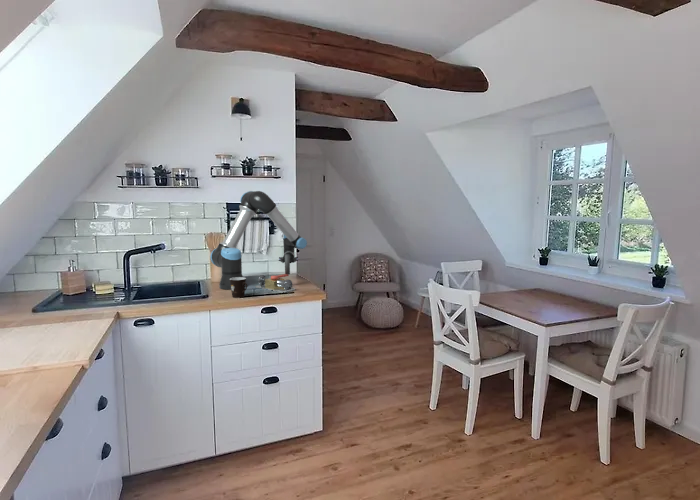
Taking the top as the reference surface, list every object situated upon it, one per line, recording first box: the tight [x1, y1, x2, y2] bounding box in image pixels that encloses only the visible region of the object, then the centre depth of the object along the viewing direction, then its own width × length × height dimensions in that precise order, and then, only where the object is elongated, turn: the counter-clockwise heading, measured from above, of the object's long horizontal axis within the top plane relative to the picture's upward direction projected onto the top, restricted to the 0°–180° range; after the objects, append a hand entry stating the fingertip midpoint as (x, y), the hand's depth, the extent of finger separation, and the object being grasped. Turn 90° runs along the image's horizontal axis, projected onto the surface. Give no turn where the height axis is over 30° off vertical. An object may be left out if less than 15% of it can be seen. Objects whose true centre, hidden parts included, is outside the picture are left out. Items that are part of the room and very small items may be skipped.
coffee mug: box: [230, 276, 248, 299], centre depth 222 cm, size 12×9×10 cm
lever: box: [270, 254, 291, 279], centre depth 247 cm, size 14×4×13 cm, turn 142°
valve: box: [254, 275, 296, 294], centre depth 244 cm, size 24×10×7 cm, turn 52°
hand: (287, 262), depth 256 cm, fingers closed
